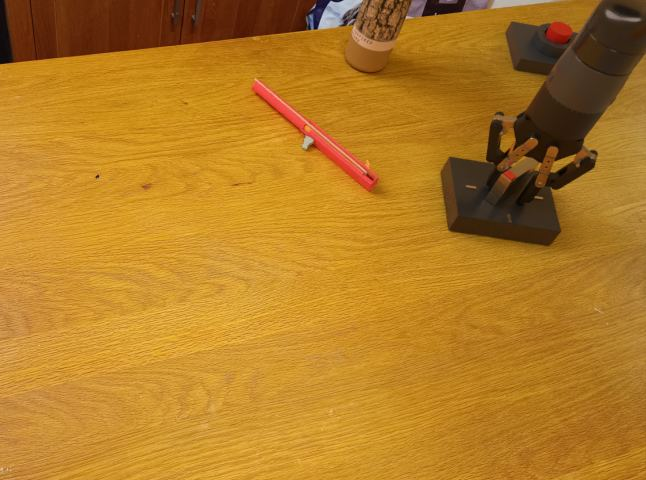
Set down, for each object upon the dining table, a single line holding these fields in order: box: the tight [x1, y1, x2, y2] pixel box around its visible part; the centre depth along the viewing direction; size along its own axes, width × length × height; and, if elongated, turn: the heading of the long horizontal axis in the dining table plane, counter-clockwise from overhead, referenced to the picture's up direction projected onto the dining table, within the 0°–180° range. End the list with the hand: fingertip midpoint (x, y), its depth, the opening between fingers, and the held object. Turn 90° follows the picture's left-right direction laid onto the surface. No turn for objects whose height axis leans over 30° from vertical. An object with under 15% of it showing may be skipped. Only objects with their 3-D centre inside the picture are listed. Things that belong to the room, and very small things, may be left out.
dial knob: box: [486, 157, 541, 206], centre depth 97 cm, size 6×2×5 cm, turn 129°
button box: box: [505, 20, 579, 77], centre depth 121 cm, size 12×10×4 cm
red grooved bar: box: [251, 78, 379, 192], centre depth 104 cm, size 24×2×5 cm
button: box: [546, 21, 574, 44], centre depth 119 cm, size 4×4×2 cm
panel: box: [440, 156, 562, 247], centre depth 100 cm, size 14×11×3 cm
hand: (506, 193), depth 99 cm, fingers open, 3 cm apart
